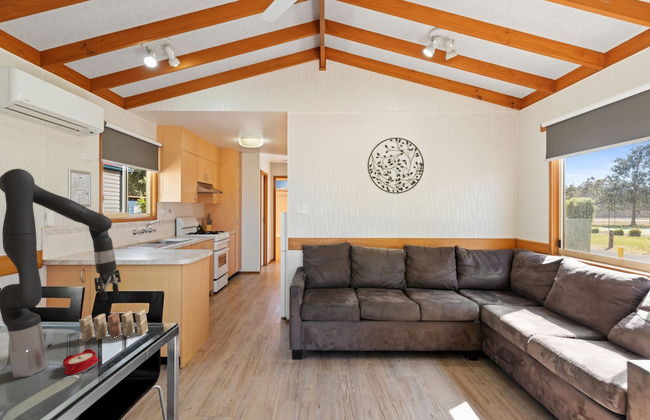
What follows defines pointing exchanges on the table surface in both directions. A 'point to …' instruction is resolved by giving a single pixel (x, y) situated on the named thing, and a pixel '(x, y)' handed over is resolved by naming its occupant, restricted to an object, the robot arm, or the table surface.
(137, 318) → the domino
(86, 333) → the domino
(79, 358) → the alarm clock
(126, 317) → the domino
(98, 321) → the domino
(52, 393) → the table surface
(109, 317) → the gap domino
